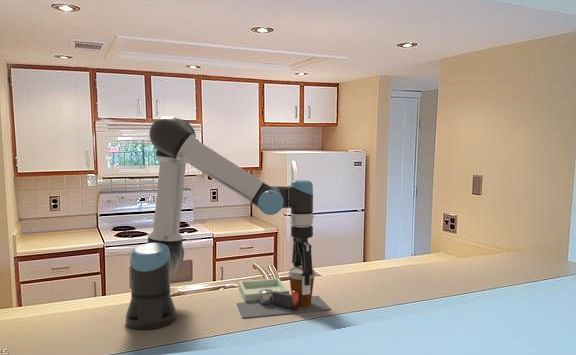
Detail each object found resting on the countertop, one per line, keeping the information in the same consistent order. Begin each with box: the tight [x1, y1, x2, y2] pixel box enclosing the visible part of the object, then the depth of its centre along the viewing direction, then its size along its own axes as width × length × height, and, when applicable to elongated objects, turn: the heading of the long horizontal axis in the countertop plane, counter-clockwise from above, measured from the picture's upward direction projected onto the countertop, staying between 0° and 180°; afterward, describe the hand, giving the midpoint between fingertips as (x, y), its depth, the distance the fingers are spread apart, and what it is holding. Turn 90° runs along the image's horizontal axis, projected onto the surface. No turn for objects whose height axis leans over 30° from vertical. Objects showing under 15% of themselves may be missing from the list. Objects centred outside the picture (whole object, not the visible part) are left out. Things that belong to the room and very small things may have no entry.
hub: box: [259, 289, 273, 305], centre depth 149 cm, size 19×5×4 cm, turn 105°
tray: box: [238, 277, 290, 302], centre depth 158 cm, size 16×16×3 cm
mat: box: [236, 295, 332, 319], centre depth 144 cm, size 30×14×1 cm, turn 105°
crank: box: [273, 290, 299, 310], centre depth 142 cm, size 10×2×6 cm, turn 57°
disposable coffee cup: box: [287, 266, 317, 307], centre depth 146 cm, size 10×10×12 cm
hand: (301, 289), depth 146 cm, fingers closed on disposable coffee cup, 9 cm apart
